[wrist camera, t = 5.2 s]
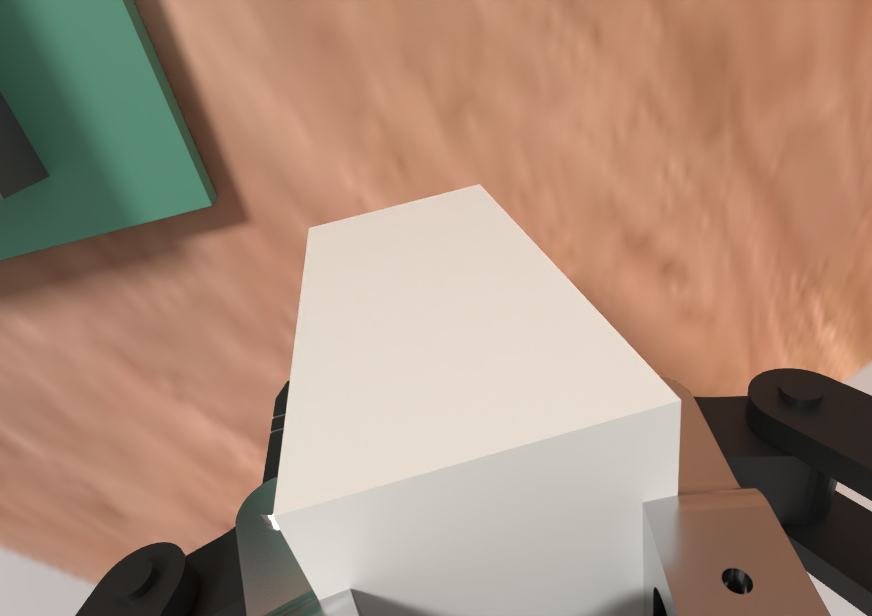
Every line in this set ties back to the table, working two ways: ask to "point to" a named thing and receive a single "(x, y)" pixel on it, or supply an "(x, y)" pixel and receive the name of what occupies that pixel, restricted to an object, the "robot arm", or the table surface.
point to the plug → (465, 423)
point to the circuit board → (87, 126)
